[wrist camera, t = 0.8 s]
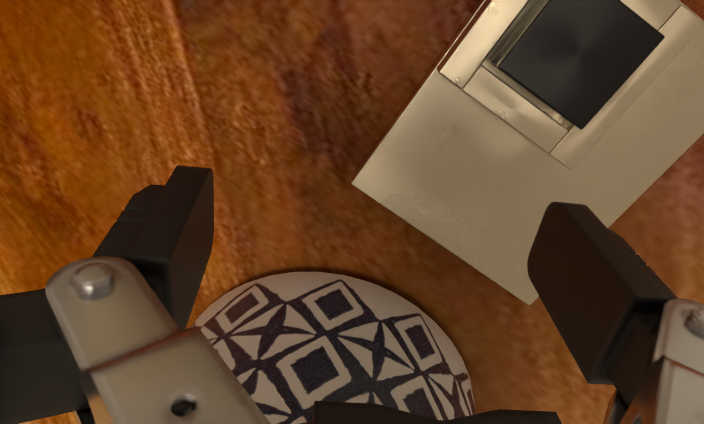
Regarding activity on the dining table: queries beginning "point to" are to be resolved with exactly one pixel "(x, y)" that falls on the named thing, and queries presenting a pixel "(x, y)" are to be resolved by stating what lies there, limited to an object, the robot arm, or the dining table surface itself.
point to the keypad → (530, 142)
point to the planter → (335, 348)
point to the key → (576, 53)
